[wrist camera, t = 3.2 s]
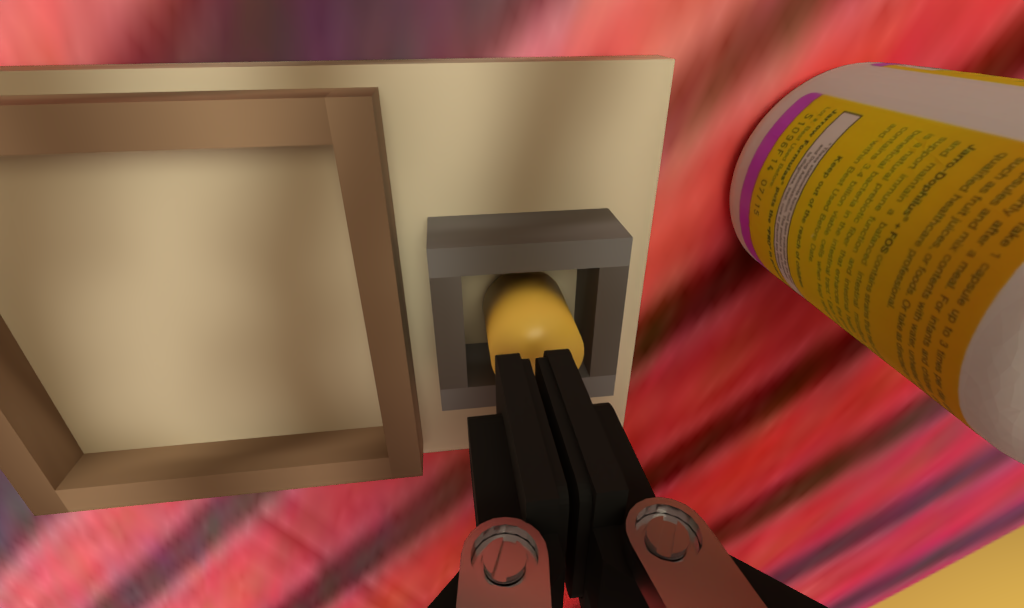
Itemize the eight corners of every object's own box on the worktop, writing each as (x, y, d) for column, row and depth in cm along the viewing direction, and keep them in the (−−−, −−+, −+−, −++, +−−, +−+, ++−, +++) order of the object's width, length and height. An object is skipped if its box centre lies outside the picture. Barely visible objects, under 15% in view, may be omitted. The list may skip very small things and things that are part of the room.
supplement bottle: (731, 290, 18) (1170, 714, 7) (708, 108, 15) (1451, 391, 4) (914, 225, 18) (1665, 569, 7) (932, 22, 15) (2443, 76, 4)
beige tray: (657, 55, 14) (715, 68, 11) (612, 412, 21) (642, 479, 18) (-167, 69, 12) (-362, 89, 9) (75, 462, 18) (8, 548, 16)
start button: (564, 266, 15) (587, 312, 13) (561, 335, 16) (581, 389, 14) (481, 271, 14) (489, 319, 12) (483, 341, 16) (492, 396, 13)
